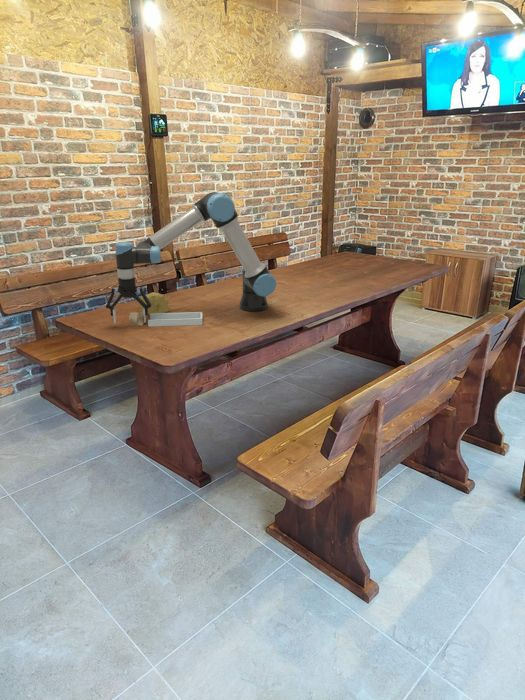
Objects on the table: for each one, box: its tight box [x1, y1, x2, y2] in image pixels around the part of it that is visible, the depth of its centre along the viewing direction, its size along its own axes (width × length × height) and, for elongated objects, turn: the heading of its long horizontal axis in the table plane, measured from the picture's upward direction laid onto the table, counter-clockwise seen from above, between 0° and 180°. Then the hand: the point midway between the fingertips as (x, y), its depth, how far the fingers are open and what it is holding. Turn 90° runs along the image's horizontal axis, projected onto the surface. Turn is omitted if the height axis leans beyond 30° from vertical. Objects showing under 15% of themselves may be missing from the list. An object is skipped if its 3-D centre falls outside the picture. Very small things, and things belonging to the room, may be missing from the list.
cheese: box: [139, 292, 170, 315], centre depth 246 cm, size 10×11×10 cm
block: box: [128, 311, 145, 327], centre depth 229 cm, size 6×6×6 cm
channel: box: [147, 311, 204, 328], centre depth 232 cm, size 25×11×4 cm, turn 97°
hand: (130, 322), depth 229 cm, fingers open, 13 cm apart
